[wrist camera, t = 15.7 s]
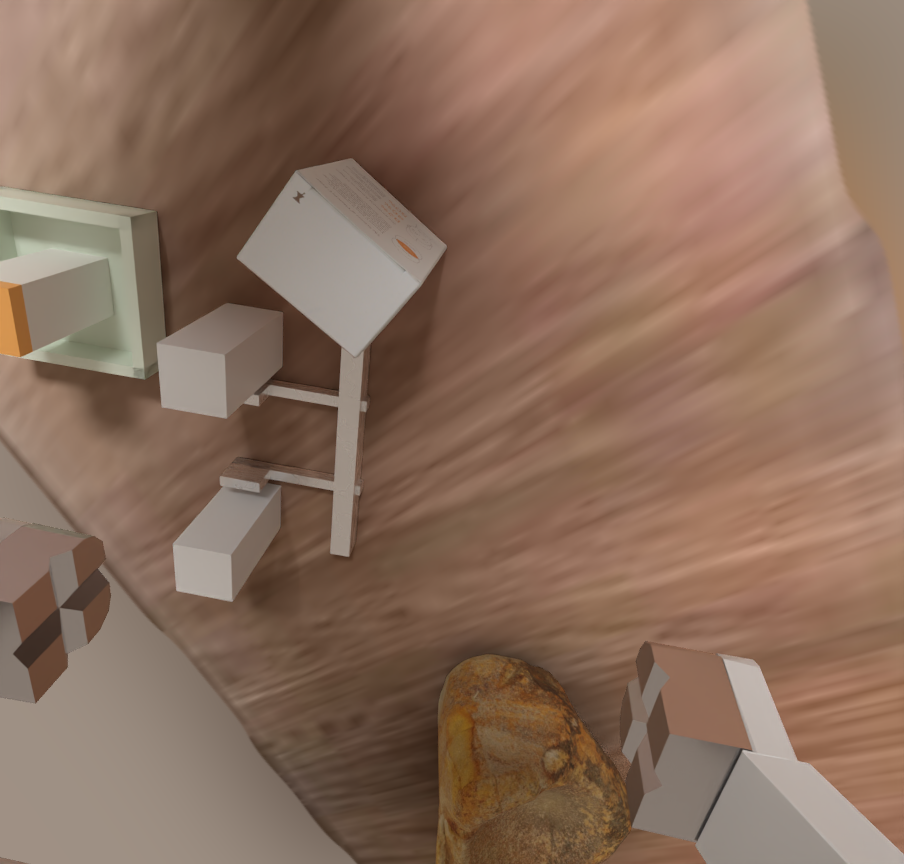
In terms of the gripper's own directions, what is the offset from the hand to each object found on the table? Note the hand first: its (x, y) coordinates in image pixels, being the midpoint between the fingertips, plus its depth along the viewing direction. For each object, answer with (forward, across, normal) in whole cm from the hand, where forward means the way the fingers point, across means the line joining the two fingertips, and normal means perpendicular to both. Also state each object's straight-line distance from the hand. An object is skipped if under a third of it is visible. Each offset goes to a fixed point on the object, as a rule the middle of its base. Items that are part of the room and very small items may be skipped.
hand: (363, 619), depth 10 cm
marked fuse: (+34, +28, +7) cm, 44 cm away
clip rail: (+34, +12, +16) cm, 40 cm away
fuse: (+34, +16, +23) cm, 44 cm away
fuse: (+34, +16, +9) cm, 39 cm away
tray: (+34, +28, +7) cm, 45 cm away
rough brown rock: (+34, -10, +43) cm, 56 cm away
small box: (+34, +8, +1) cm, 35 cm away
